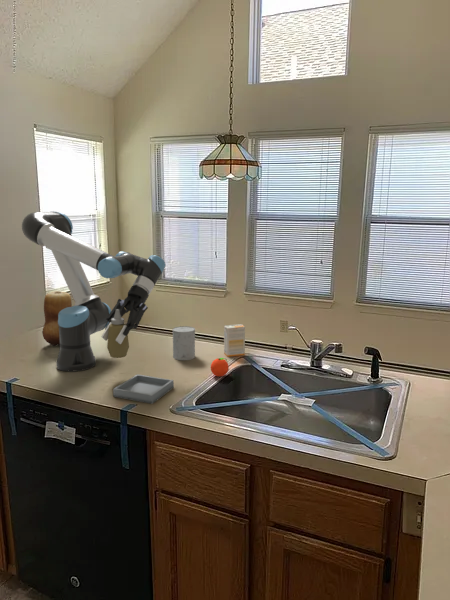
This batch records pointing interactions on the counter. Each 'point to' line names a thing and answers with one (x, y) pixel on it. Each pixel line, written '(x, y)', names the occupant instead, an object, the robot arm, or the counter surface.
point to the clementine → (219, 367)
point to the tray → (143, 388)
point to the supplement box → (234, 340)
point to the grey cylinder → (183, 343)
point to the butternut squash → (54, 314)
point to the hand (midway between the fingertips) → (111, 340)
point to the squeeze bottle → (114, 330)
